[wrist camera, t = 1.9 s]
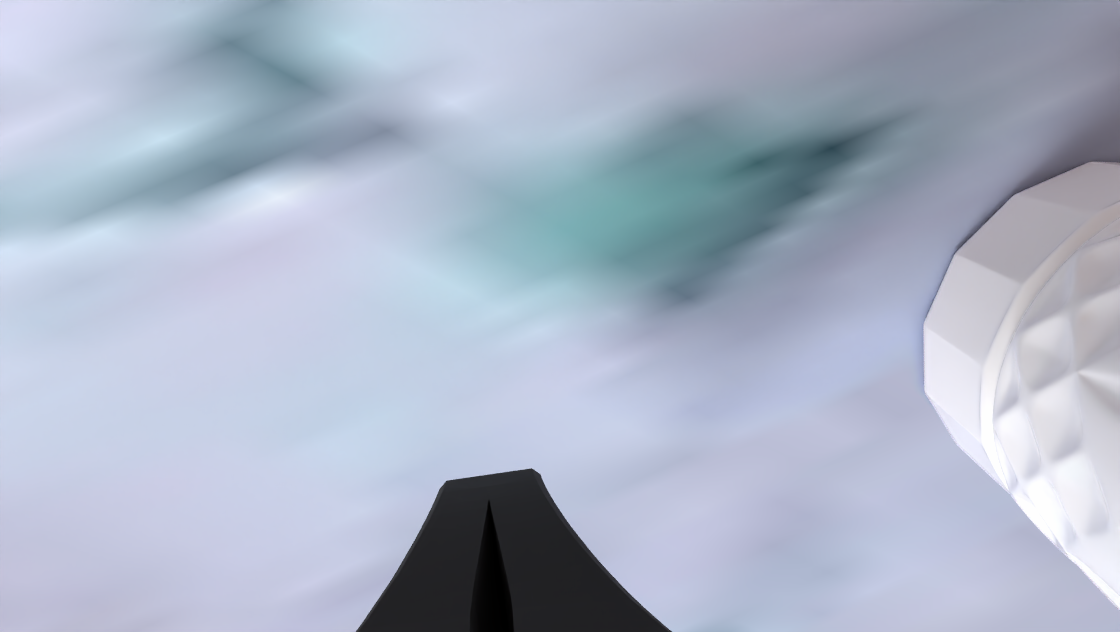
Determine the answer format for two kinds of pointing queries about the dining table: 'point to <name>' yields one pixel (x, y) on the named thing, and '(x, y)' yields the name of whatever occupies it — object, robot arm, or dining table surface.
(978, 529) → the dining table surface
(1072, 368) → the white cup
